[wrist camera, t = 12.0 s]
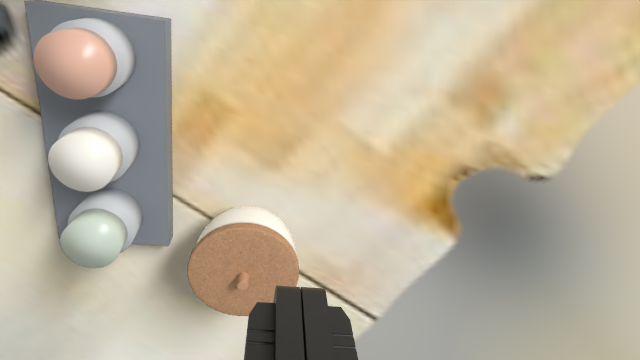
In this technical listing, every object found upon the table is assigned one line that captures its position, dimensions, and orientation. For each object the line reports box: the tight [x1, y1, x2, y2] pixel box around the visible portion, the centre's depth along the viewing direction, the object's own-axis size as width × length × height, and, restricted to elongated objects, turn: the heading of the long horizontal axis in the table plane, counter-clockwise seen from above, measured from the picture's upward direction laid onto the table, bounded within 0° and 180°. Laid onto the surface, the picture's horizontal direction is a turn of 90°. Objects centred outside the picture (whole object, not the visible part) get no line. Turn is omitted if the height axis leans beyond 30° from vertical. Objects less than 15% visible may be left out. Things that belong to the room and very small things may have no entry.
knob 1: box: [34, 27, 117, 99], centre depth 32 cm, size 5×5×2 cm
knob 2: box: [60, 208, 128, 268], centre depth 38 cm, size 5×5×2 cm
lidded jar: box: [187, 206, 299, 316], centre depth 43 cm, size 11×11×9 cm
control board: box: [25, 0, 173, 253], centre depth 39 cm, size 23×11×5 cm, turn 172°
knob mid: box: [48, 126, 123, 192], centre depth 35 cm, size 5×5×2 cm
